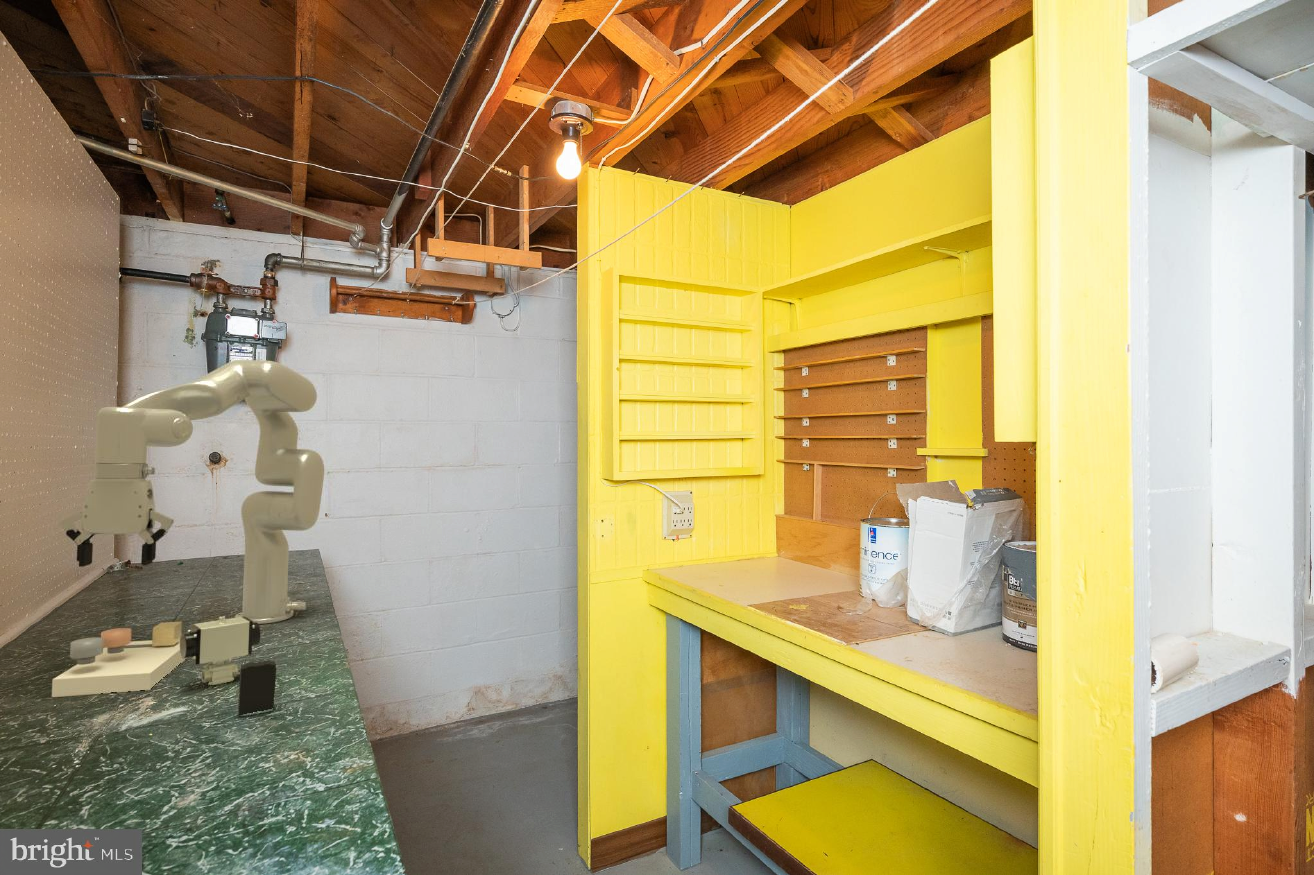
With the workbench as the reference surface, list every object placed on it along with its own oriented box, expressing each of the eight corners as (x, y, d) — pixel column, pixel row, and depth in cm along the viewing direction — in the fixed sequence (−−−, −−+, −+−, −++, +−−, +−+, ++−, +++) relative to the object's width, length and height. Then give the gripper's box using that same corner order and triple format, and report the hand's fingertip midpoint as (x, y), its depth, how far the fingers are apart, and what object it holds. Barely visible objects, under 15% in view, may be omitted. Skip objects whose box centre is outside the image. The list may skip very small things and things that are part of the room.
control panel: (193, 652, 138) (194, 637, 138) (149, 690, 117) (150, 672, 117) (112, 657, 134) (113, 642, 134) (51, 697, 113) (52, 679, 113)
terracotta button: (134, 647, 127) (135, 627, 127) (124, 654, 123) (125, 633, 123) (107, 648, 125) (107, 628, 125) (95, 656, 121) (96, 635, 121)
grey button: (107, 657, 120) (108, 636, 120) (95, 665, 116) (96, 643, 116) (77, 659, 119) (78, 638, 119) (64, 667, 115) (65, 645, 115)
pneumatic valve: (259, 678, 125) (261, 613, 125) (184, 694, 116) (187, 624, 116) (249, 670, 128) (251, 608, 129) (176, 685, 120) (179, 618, 120)
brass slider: (181, 639, 136) (181, 621, 136) (173, 645, 132) (174, 626, 132) (160, 640, 135) (161, 622, 135) (152, 646, 131) (152, 628, 131)
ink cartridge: (272, 707, 111) (275, 659, 112) (273, 712, 109) (276, 663, 110) (237, 712, 109) (240, 663, 109) (238, 717, 107) (241, 667, 107)
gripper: (182, 473, 131) (178, 560, 130) (75, 471, 126) (71, 562, 125) (166, 474, 124) (162, 567, 123) (52, 473, 118) (48, 569, 118)
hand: (116, 564), depth 124 cm, fingers open, 9 cm apart
